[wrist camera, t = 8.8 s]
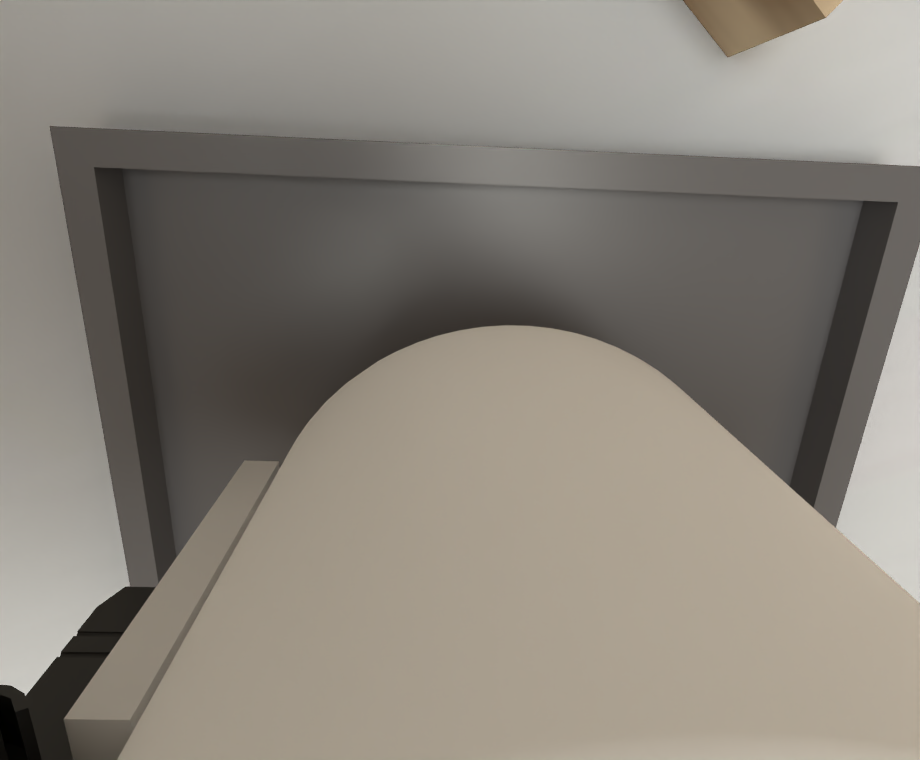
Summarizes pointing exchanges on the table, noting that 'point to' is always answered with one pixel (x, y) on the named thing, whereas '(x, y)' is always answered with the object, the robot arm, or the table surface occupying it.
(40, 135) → the table surface
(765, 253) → the tray
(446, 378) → the cup
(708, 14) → the maple block
